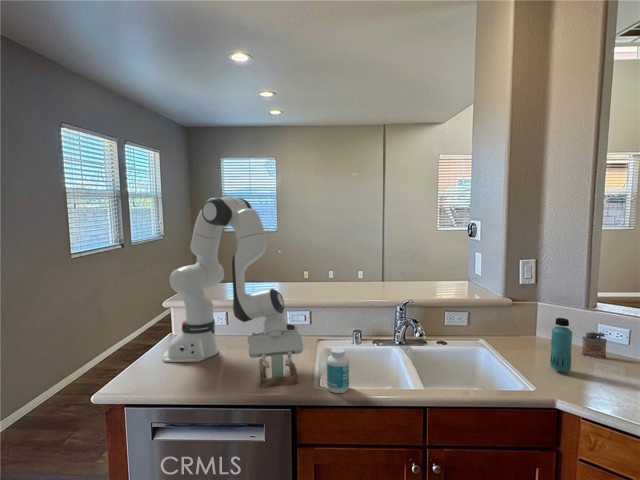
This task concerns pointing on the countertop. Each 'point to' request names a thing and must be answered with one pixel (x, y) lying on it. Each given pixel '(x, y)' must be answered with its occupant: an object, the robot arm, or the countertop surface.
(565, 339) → the beverage bottle
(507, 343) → the countertop surface
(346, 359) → the pill bottle
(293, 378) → the walnut lane
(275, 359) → the sage block
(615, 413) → the countertop surface
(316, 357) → the countertop surface
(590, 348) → the lighter
